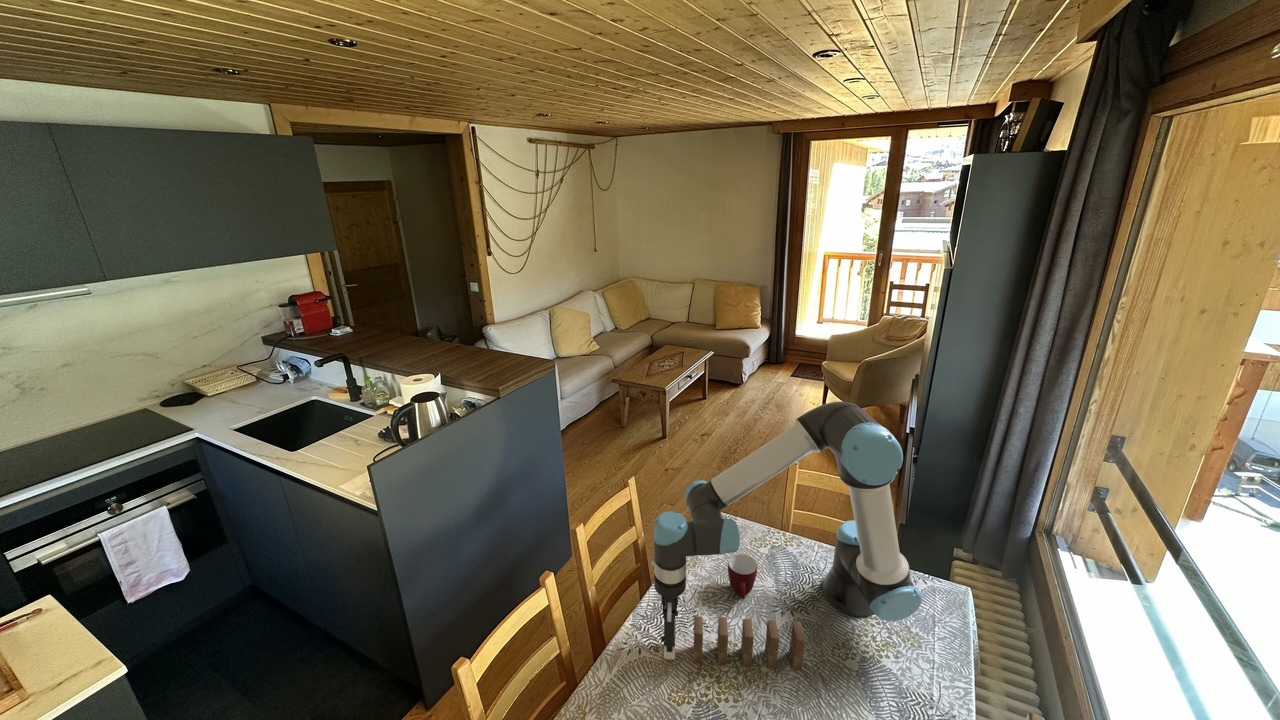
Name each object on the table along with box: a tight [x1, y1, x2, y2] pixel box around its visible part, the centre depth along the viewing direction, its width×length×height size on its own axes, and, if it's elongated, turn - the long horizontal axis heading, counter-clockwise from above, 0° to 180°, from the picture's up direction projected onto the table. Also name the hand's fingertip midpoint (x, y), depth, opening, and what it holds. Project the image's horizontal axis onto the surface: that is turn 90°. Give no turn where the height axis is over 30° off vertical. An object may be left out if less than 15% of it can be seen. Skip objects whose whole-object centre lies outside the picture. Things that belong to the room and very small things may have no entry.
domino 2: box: [693, 615, 704, 665], centre depth 122 cm, size 2×5×10 cm, turn 175°
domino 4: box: [740, 618, 755, 668], centre depth 121 cm, size 2×5×10 cm, turn 175°
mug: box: [727, 553, 758, 600], centre depth 140 cm, size 11×8×10 cm
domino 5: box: [764, 619, 780, 670], centre depth 120 cm, size 2×5×10 cm, turn 175°
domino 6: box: [788, 621, 806, 671], centre depth 120 cm, size 2×5×10 cm, turn 175°
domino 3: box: [716, 617, 729, 667], centre depth 121 cm, size 2×5×10 cm, turn 175°
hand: (669, 646), depth 124 cm, fingers closed on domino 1, 5 cm apart
